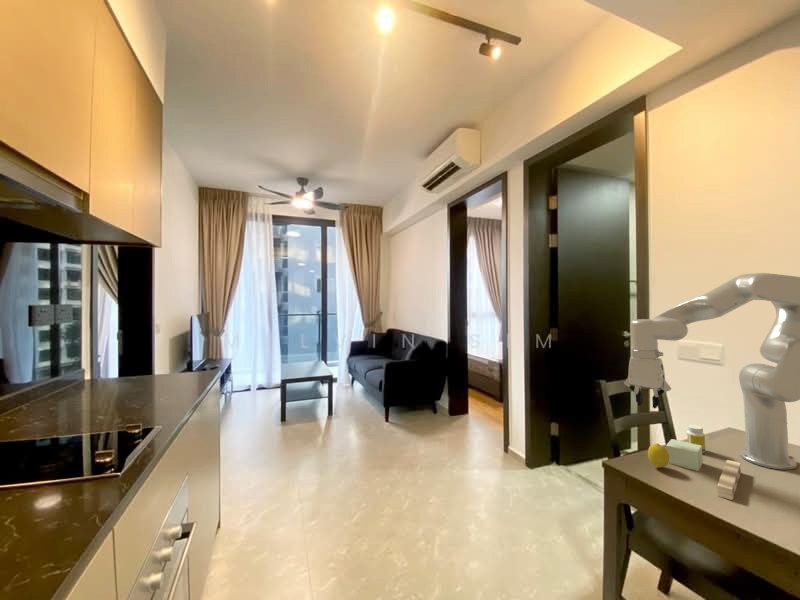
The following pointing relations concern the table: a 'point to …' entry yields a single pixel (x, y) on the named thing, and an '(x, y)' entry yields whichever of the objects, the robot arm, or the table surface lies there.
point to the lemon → (658, 455)
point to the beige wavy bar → (729, 480)
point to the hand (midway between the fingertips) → (647, 405)
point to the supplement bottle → (696, 436)
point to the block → (685, 454)
